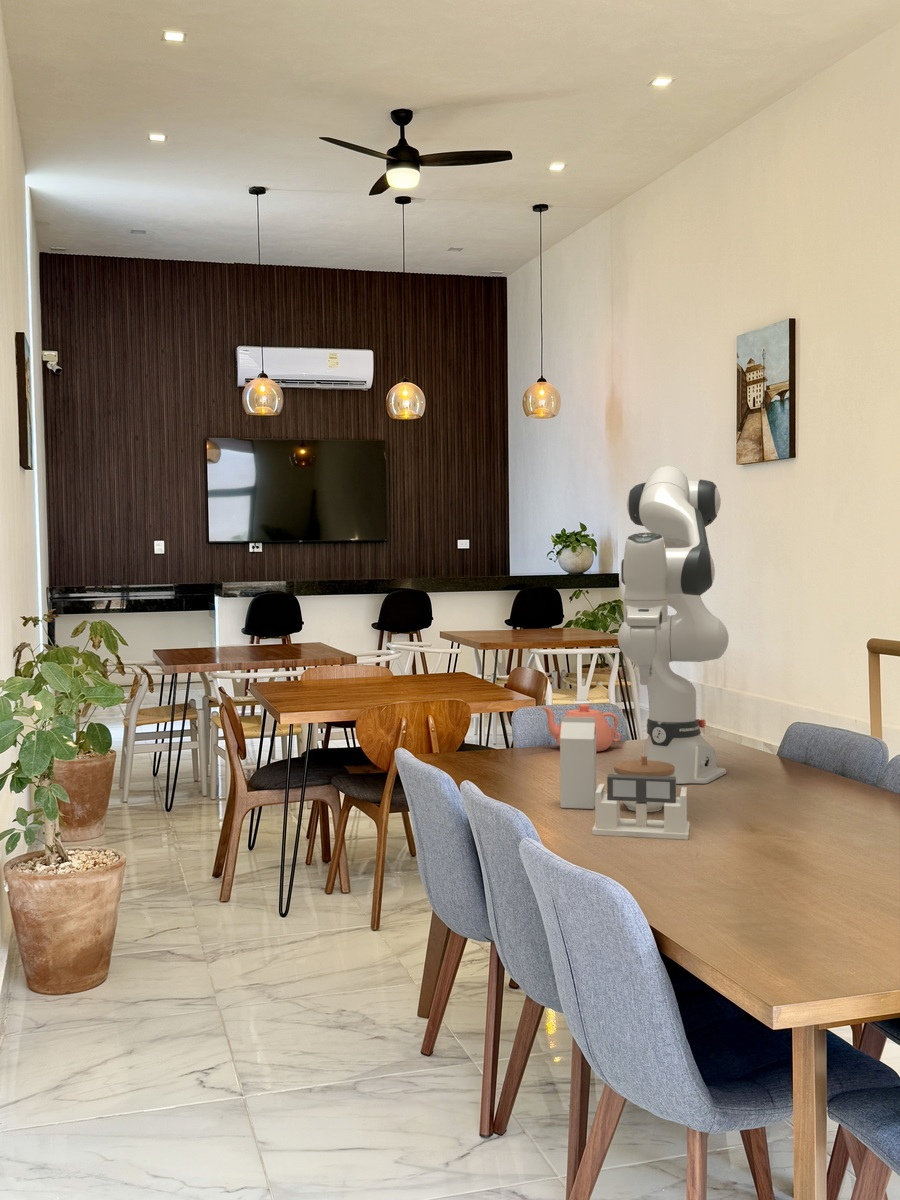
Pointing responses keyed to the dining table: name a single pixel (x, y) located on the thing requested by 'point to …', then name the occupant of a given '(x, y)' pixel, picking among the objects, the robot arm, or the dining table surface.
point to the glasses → (641, 788)
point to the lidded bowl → (644, 769)
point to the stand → (640, 819)
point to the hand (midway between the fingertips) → (646, 680)
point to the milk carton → (578, 762)
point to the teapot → (602, 727)
